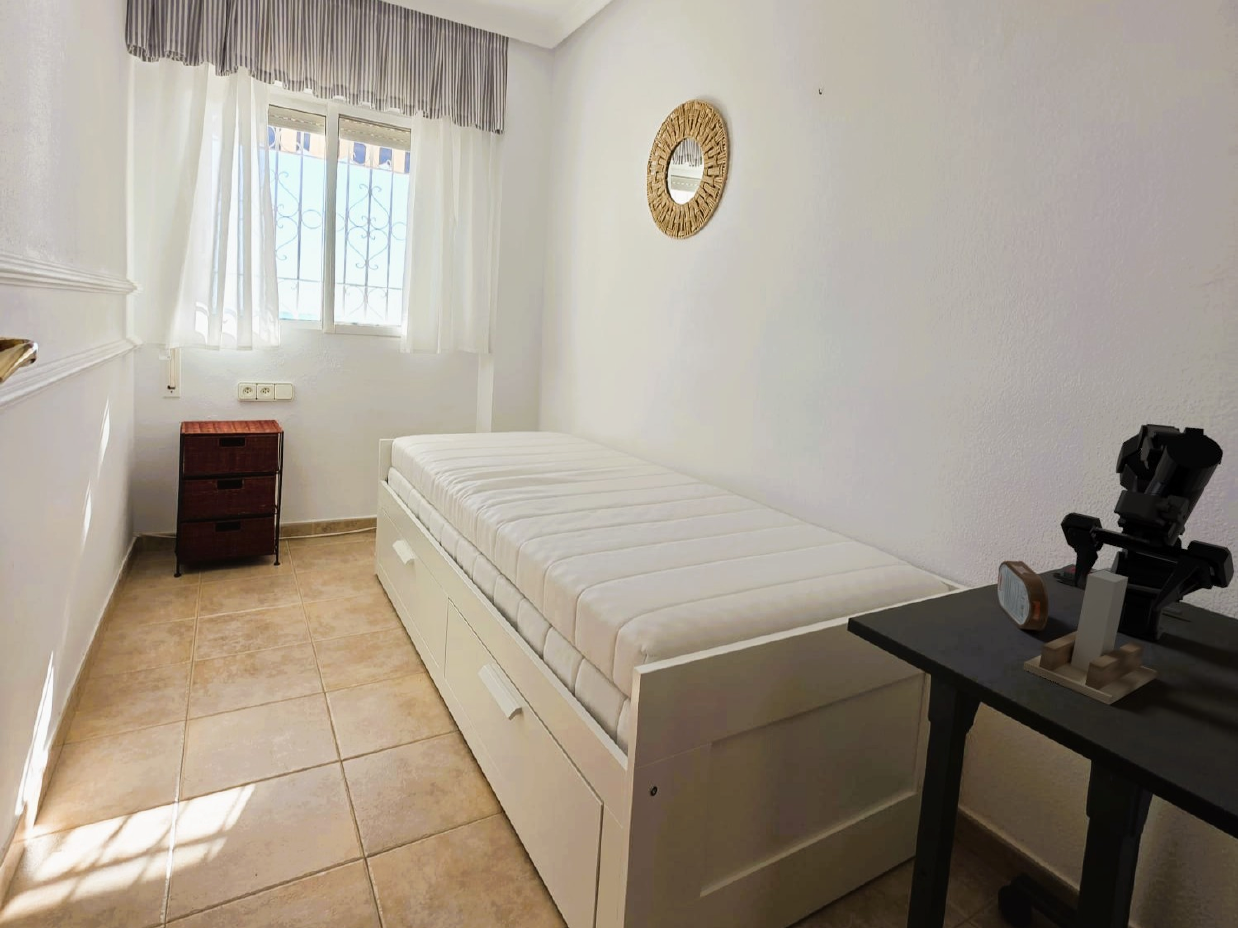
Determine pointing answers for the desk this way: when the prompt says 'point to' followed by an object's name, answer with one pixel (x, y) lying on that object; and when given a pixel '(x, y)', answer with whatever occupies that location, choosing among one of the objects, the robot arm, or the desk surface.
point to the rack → (1093, 669)
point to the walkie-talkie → (1068, 578)
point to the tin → (1022, 595)
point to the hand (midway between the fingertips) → (1113, 596)
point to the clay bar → (1099, 617)
